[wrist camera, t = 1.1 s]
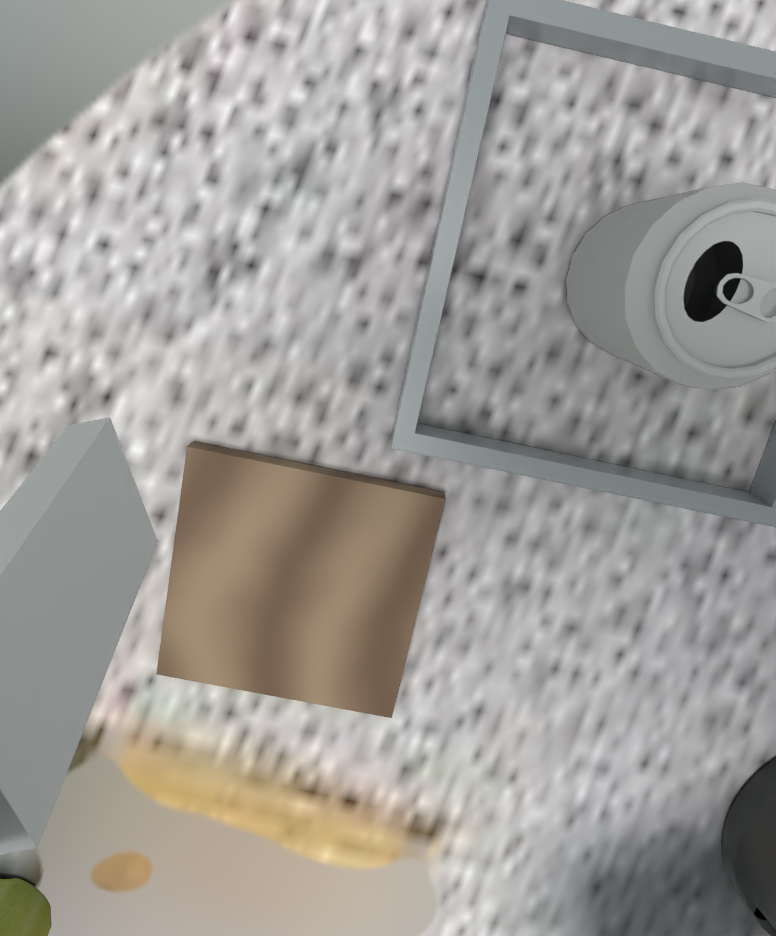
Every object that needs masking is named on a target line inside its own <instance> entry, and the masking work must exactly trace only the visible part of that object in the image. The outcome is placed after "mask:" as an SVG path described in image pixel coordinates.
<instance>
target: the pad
mask: <svg viewBox="0 0 776 936" xmlns="http://www.w3.org/2000/svg"><path fill="white" fill-rule="evenodd" d="M444 502H445V495H444V492H441V491H437V490H432V489H427V488H422V487H417V486H412V485H407V484H402V483H397V482H392V481H387V480H382V479H377V478H373V477H368V476H363V475H358V474H353V473H348V472H343V471H338V470H333V469H328V468H323V467H318V466H313V465H308V464H304V463H299V462H294V461H289V460H284V459H279V458H274V457H269V456H264V455H259V454H254V453H249V452H244V451H240V450H235V449H230V448H225V447H220V446H215V445H210V444H205V443H200V442H195V441H193V442H192V443H191V444H190V445H189V446H188V447H187V452H186V460H185V467H184V475H183V482H182V489H181V497H180V504H179V512H178V519H177V526H176V534H175V541H174V549H173V556H172V563H171V571H170V578H169V585H168V593H167V600H166V608H165V615H164V622H163V630H162V637H161V645H160V652H159V659H158V667H157V674H158V675H164V676H169V677H174V678H180V679H185V680H190V681H196V682H201V683H206V684H212V685H217V686H223V687H228V688H233V689H239V690H244V691H249V692H255V693H260V694H266V695H271V696H276V697H282V698H287V699H292V700H298V701H303V702H309V703H314V704H319V705H325V706H330V707H335V708H341V709H346V710H352V711H357V712H362V713H368V714H373V715H378V716H384V717H389V718H392V714H393V710H394V706H395V702H396V698H397V694H398V690H399V686H400V682H401V677H402V673H403V669H404V665H405V661H406V657H407V653H408V649H409V645H410V641H411V637H412V633H413V629H414V625H415V620H416V616H417V612H418V608H419V604H420V600H421V596H422V592H423V588H424V584H425V580H426V576H427V572H428V568H429V563H430V559H431V555H432V551H433V547H434V543H435V539H436V535H437V531H438V527H439V523H440V519H441V515H442V511H443V506H444Z"/></svg>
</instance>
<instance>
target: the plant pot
mask: <svg viewBox="0 0 776 936" xmlns="http://www.w3.org/2000/svg"><path fill="white" fill-rule="evenodd" d="M50 928H51V909H50V904H49V902H48V900H47V899H46V898H45V896H44V895H43V894H42V893H41V892H40V891H39V890H38V889H37V888H36V887H34V886H33V885H31V884H30V883H28V882H26V881H24V880H21V879H18V878H12V879H0V936H48V933H49V930H50Z"/></svg>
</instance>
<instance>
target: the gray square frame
mask: <svg viewBox="0 0 776 936" xmlns="http://www.w3.org/2000/svg"><path fill="white" fill-rule="evenodd" d="M505 34H509V35H513V36H518V37H522V38H526V39H530V40H534V41H539V42H543V43H547V44H551V45H556V46H560V47H564V48H568V49H572V50H577V51H581V52H585V53H589V54H594V55H598V56H602V57H606V58H610V59H615V60H619V61H623V62H627V63H632V64H636V65H640V66H644V67H648V68H653V69H657V70H661V71H665V72H670V73H674V74H678V75H682V76H686V77H691V78H695V79H699V80H703V81H708V82H712V83H716V84H720V85H724V86H729V87H733V88H737V89H741V90H746V91H750V92H754V93H758V94H762V95H767V96H771V97H775V98H776V52H774V51H770V50H766V49H762V48H758V47H754V46H749V45H745V44H741V43H737V42H733V41H729V40H724V39H720V38H716V37H712V36H708V35H704V34H699V33H695V32H691V31H687V30H683V29H679V28H674V27H670V26H666V25H662V24H658V23H654V22H649V21H645V20H641V19H637V18H633V17H629V16H625V15H620V14H616V13H612V12H608V11H604V10H600V9H595V8H591V7H587V6H583V5H579V4H575V3H570V2H566V1H562V0H487V1H486V4H485V9H484V13H483V18H482V23H481V27H480V32H479V36H478V41H477V45H476V50H475V55H474V59H473V64H472V68H471V73H470V78H469V82H468V87H467V91H466V96H465V101H464V105H463V110H462V114H461V119H460V124H459V128H458V133H457V137H456V142H455V147H454V151H453V156H452V160H451V165H450V170H449V174H448V179H447V183H446V188H445V193H444V197H443V202H442V206H441V211H440V216H439V220H438V225H437V229H436V234H435V239H434V243H433V248H432V252H431V257H430V261H429V266H428V271H427V275H426V280H425V284H424V289H423V294H422V298H421V303H420V307H419V312H418V317H417V321H416V326H415V330H414V335H413V340H412V344H411V349H410V353H409V358H408V363H407V367H406V372H405V376H404V381H403V386H402V390H401V395H400V399H399V404H398V409H397V413H396V418H395V422H394V427H393V432H392V436H391V448H393V449H398V450H403V451H408V452H413V453H417V454H422V455H427V456H432V457H437V458H442V459H447V460H452V461H456V462H461V463H466V464H471V465H476V466H481V467H486V468H490V469H495V470H500V471H505V472H510V473H515V474H520V475H525V476H529V477H534V478H539V479H544V480H549V481H554V482H559V483H564V484H568V485H573V486H578V487H583V488H588V489H593V490H598V491H602V492H607V493H612V494H617V495H622V496H627V497H632V498H637V499H641V500H646V501H651V502H656V503H661V504H666V505H671V506H676V507H680V508H685V509H690V510H695V511H700V512H705V513H710V514H714V515H719V516H724V517H729V518H734V519H739V520H744V521H749V522H753V523H758V524H763V525H768V526H773V527H776V422H775V424H774V427H773V430H772V432H771V435H770V438H769V441H768V443H767V446H766V449H765V451H764V454H763V457H762V459H761V462H760V465H759V468H758V470H757V473H756V476H755V478H754V481H753V484H752V486H751V489H750V492H746V491H741V490H736V489H731V488H727V487H722V486H717V485H712V484H707V483H703V482H698V481H693V480H688V479H683V478H678V477H674V476H669V475H664V474H659V473H654V472H650V471H645V470H640V469H635V468H630V467H625V466H621V465H616V464H611V463H606V462H601V461H597V460H592V459H587V458H582V457H577V456H572V455H568V454H563V453H558V452H553V451H548V450H544V449H539V448H534V447H529V446H524V445H519V444H515V443H510V442H505V441H500V440H495V439H491V438H486V437H481V436H476V435H471V434H466V433H462V432H457V431H452V430H447V429H442V428H438V427H433V426H428V425H423V424H418V423H417V421H418V417H419V412H420V408H421V403H422V399H423V395H424V390H425V386H426V381H427V377H428V373H429V368H430V364H431V359H432V355H433V350H434V346H435V342H436V337H437V333H438V328H439V324H440V320H441V315H442V311H443V306H444V302H445V298H446V293H447V289H448V284H449V280H450V275H451V271H452V267H453V262H454V258H455V253H456V249H457V245H458V240H459V236H460V231H461V227H462V223H463V218H464V214H465V209H466V205H467V201H468V196H469V192H470V187H471V183H472V178H473V174H474V170H475V165H476V161H477V156H478V152H479V148H480V143H481V139H482V134H483V130H484V126H485V121H486V117H487V112H488V108H489V103H490V99H491V95H492V90H493V86H494V81H495V77H496V73H497V68H498V64H499V59H500V55H501V51H502V46H503V42H504V37H505Z"/></svg>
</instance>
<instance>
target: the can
mask: <svg viewBox="0 0 776 936" xmlns="http://www.w3.org/2000/svg"><path fill="white" fill-rule="evenodd" d="M566 285H567V303H568V306H569V309H570V311H571V314H572V317H573V319H574V322H575V324H576V326H577V327H578V328H579V330H580V331H581V332H582V333H583V334H584V335H585V337H586V338H587V339H588V340H589V341H590V342H591V343H592V344H594V345H596V346H597V347H599V348H601V349H603V350H604V351H606V352H608V353H610V354H612V355H614V356H616V357H619V358H621V359H623V360H625V361H628V362H630V363H632V364H634V365H637V366H639V367H641V368H644V369H646V370H648V371H650V372H653V373H655V374H657V375H660V376H662V377H664V378H666V379H669V380H671V381H673V382H675V383H678V384H680V385H685V386H690V387H695V388H700V389H705V390H716V389H724V388H732V387H740V386H742V385H745V384H747V383H749V382H752V381H754V380H756V379H759V378H761V377H763V376H765V375H768V374H770V373H771V372H772V371H773V370H775V369H776V190H774V189H770V188H765V187H760V186H755V185H751V184H746V183H737V184H729V185H722V186H714V187H708V188H703V189H699V190H694V191H690V192H685V193H681V194H677V195H672V196H668V197H663V198H659V199H655V200H650V201H646V202H641V203H637V204H632V205H628V206H625V207H623V208H621V209H619V210H617V211H615V212H613V213H611V214H609V215H607V216H605V217H603V218H602V219H601V220H600V221H599V222H598V223H597V224H596V225H595V226H594V227H592V228H591V229H590V230H589V231H588V232H587V233H586V234H585V235H584V237H583V239H582V241H581V242H580V244H579V246H578V247H577V249H576V251H575V252H574V254H573V256H572V259H571V263H570V267H569V271H568V275H567V279H566Z"/></svg>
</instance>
